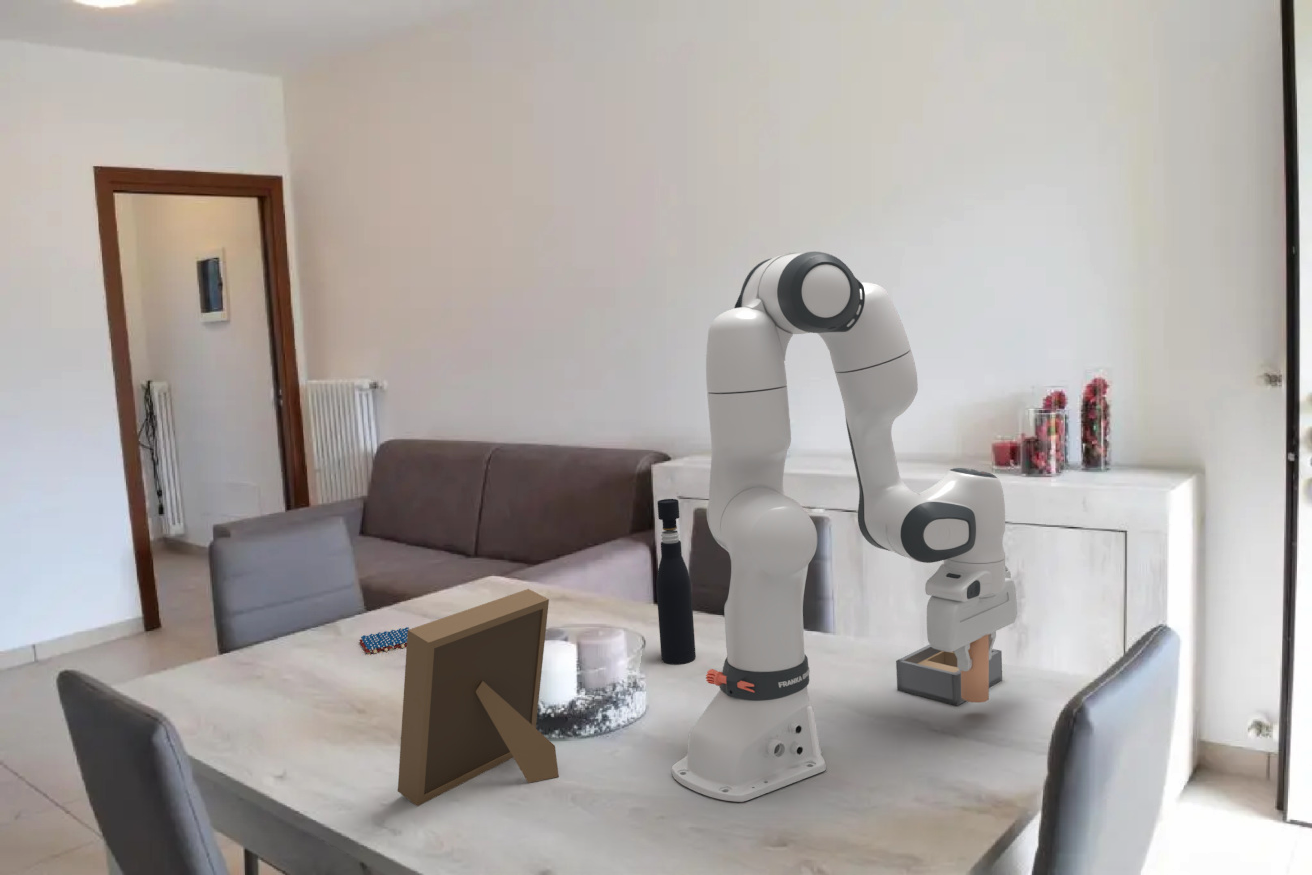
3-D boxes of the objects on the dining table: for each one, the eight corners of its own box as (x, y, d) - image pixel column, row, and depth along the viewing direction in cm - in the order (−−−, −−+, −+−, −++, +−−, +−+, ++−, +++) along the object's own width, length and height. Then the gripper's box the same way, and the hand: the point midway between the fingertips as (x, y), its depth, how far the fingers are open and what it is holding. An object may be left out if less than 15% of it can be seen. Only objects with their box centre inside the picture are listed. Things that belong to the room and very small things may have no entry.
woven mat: (358, 644, 211) (357, 635, 211) (409, 634, 215) (408, 625, 215) (366, 658, 202) (365, 648, 201) (419, 647, 206) (418, 638, 206)
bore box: (957, 705, 157) (956, 675, 156) (897, 689, 165) (896, 660, 164) (1002, 679, 166) (1001, 650, 166) (943, 665, 174) (942, 638, 174)
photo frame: (398, 797, 139) (382, 623, 135) (514, 740, 155) (502, 583, 152) (468, 828, 129) (452, 641, 126) (584, 764, 146) (573, 597, 143)
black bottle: (682, 666, 183) (671, 505, 179) (654, 661, 187) (643, 503, 183) (702, 655, 188) (692, 498, 184) (674, 650, 192) (664, 496, 188)
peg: (980, 704, 150) (979, 639, 148) (956, 698, 152) (955, 634, 151) (993, 697, 152) (993, 633, 151) (969, 690, 155) (969, 627, 154)
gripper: (990, 559, 159) (990, 643, 161) (918, 585, 146) (919, 677, 147) (1027, 565, 155) (1027, 652, 156) (957, 593, 141) (958, 688, 143)
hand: (974, 664), depth 152 cm, fingers closed on peg, 4 cm apart
